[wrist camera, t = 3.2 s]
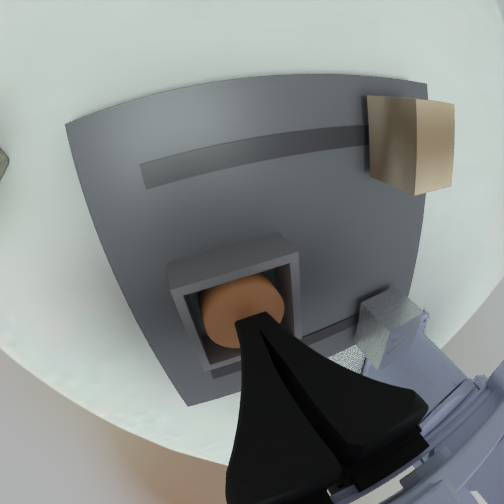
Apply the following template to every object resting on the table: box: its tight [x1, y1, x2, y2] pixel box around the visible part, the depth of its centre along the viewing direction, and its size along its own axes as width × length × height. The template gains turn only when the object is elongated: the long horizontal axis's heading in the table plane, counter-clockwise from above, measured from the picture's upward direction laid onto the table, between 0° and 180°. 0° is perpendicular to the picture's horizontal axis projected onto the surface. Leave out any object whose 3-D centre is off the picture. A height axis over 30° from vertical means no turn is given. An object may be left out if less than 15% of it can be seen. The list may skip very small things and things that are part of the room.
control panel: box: [65, 74, 428, 406], centre depth 14 cm, size 18×18×4 cm
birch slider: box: [367, 95, 455, 196], centre depth 11 cm, size 4×3×3 cm
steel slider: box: [355, 287, 424, 371], centre depth 17 cm, size 4×3×3 cm
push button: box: [199, 272, 284, 348], centre depth 13 cm, size 4×4×2 cm
